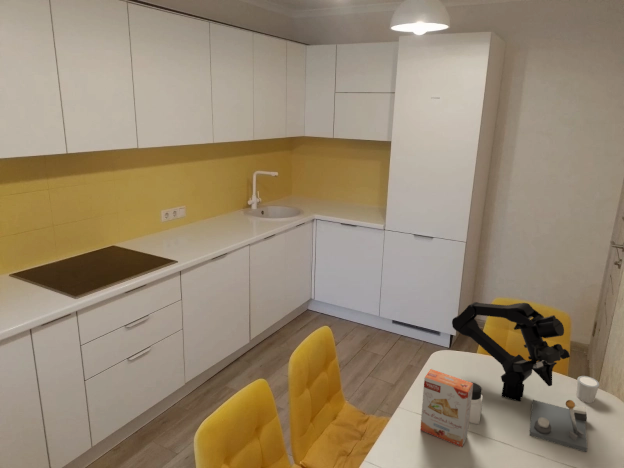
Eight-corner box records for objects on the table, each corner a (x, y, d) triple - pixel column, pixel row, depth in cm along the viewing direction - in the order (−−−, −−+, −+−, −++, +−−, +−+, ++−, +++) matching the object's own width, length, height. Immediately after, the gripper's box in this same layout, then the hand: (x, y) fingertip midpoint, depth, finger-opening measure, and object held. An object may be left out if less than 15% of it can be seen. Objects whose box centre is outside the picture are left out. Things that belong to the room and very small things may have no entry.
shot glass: (599, 404, 161) (602, 388, 159) (578, 402, 162) (581, 385, 160) (591, 392, 167) (595, 376, 165) (571, 390, 169) (574, 374, 167)
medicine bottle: (481, 412, 158) (484, 382, 154) (479, 425, 152) (482, 394, 148) (459, 406, 161) (462, 377, 157) (456, 419, 155) (460, 389, 151)
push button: (537, 425, 146) (538, 422, 146) (537, 419, 149) (538, 416, 149) (548, 429, 145) (549, 425, 144) (548, 422, 148) (549, 419, 147)
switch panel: (529, 435, 147) (530, 427, 146) (532, 403, 162) (533, 395, 161) (587, 452, 140) (589, 444, 139) (584, 417, 155) (586, 409, 154)
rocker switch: (572, 412, 152) (572, 409, 152) (572, 408, 154) (572, 405, 154) (586, 414, 150) (586, 411, 150) (585, 410, 152) (585, 407, 152)
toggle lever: (569, 432, 145) (563, 400, 145) (574, 430, 146) (568, 398, 146) (576, 435, 142) (570, 402, 143) (582, 432, 143) (576, 400, 144)
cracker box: (419, 431, 149) (423, 376, 143) (426, 420, 154) (430, 367, 148) (462, 448, 142) (468, 392, 135) (467, 437, 146) (474, 381, 140)
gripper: (524, 347, 146) (542, 396, 143) (572, 331, 150) (590, 379, 147) (505, 347, 157) (521, 393, 154) (550, 333, 161) (567, 377, 158)
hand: (550, 385), depth 153 cm, fingers closed
